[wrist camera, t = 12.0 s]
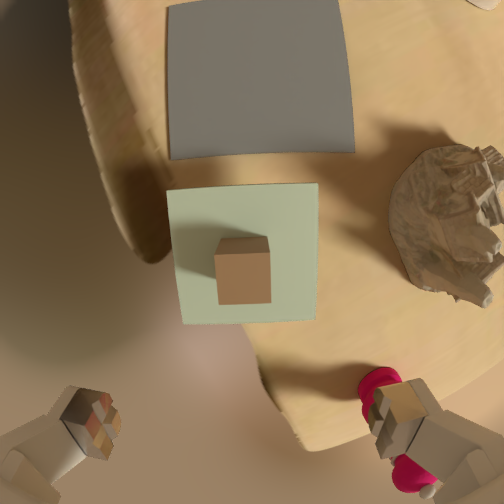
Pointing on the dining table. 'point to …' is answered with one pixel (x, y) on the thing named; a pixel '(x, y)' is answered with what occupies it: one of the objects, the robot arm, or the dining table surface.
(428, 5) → the dining table surface
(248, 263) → the lid
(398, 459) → the pepper mill
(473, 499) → the robot arm
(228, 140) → the mat
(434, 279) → the ceramic cottage
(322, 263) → the dining table surface
